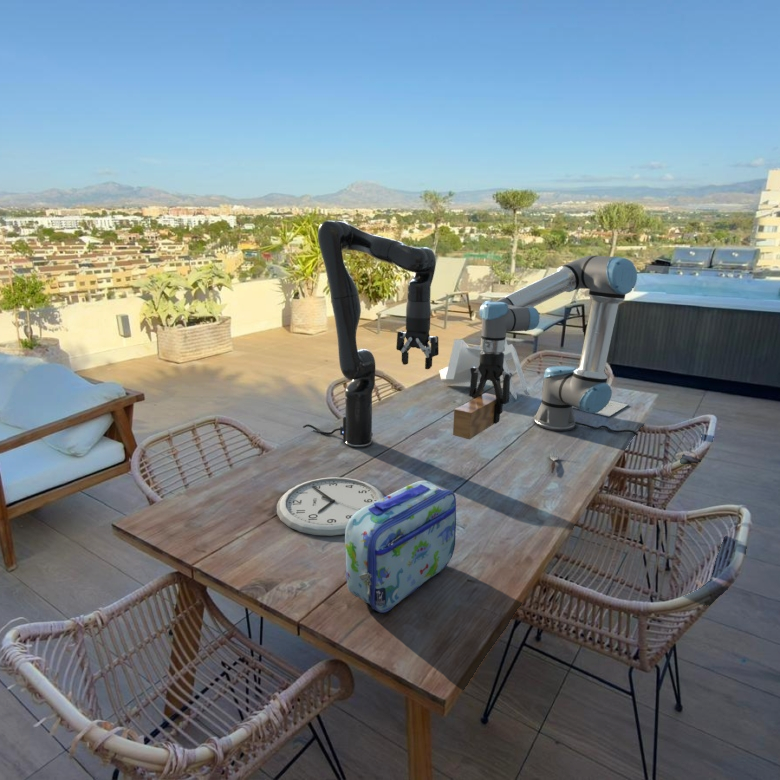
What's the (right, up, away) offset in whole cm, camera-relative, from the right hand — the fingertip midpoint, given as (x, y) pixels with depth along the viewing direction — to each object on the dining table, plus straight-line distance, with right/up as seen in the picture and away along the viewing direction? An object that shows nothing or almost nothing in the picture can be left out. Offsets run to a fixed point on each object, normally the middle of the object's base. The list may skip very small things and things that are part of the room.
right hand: (487, 420), depth 172 cm
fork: (+21, -14, -2) cm, 26 cm away
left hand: (-24, +17, -8) cm, 30 cm away
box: (-4, -2, -5) cm, 7 cm away
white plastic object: (+10, +9, +71) cm, 72 cm away
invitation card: (+59, +3, +54) cm, 80 cm away
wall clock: (-48, -22, -29) cm, 60 cm away
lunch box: (-29, -32, -60) cm, 74 cm away
